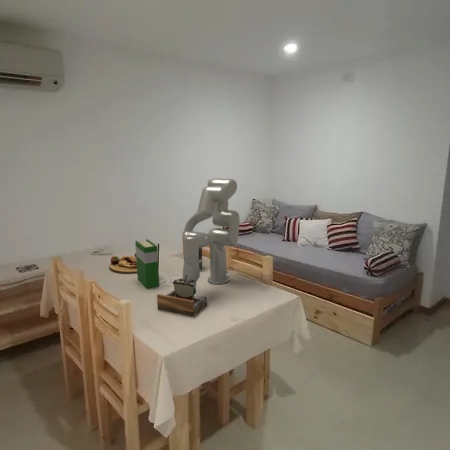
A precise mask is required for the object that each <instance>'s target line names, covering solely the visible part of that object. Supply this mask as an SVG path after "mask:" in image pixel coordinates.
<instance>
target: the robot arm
mask: <svg viewBox="0 0 450 450" xmlns="http://www.w3.org/2000/svg"><path fill="white" fill-rule="evenodd" d="M237 189H238V183H237V181H236V179H233V178H211V179H208V180H207V186H205V187H203V189H202V191H201V195H200V199H199V202H198V207H197V211H196V212H195V213H194V214H192V216H191V217H190V218H189V219H188V221H187V222H186V224H185V226H184V229H183V233H182V243H183V245H182V246H183V268H182V278H183V281H185V279H186V282H192V280H194V281H195V284H196V285H197V282H198V280H199V279H200V277H201V276H200V275H201V271H200V268H199V248H202V249H203V248H205V247H207V246H209V267H210V268H209V270H210V271H209V273H210V274H209V275H210V276H209V277H208V278H207V282H208V283H210V284H212V285H223V284H227V283H229V281H230V278H229V277H228V276H227V275H228V273H229V270H228V269H227V250H226V248H225V247H235V246H237V243H238V240H239V232H240V224H241V223H240V222H241V221H240V214H239V212H238V211H237V210H229V200H230V199H231V198H232V197H233V196H234V195H235V194H236V192H237ZM211 218H212V220H211V221H212V224H213V225H215V226H217V227H218V228H217V227H216V228H211V229H210V230H208V233H206V232H199V231H194V228H195V227H196V226H197V225H198V224H199V223H201V222H203V221H207V220H209V219H211ZM219 227H226V228H228V229H226V228H219ZM194 295H197V286H196V287H195V288H194Z"/></svg>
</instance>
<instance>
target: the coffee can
mask: <svg viewBox="0 0 450 450" xmlns="http://www.w3.org/2000/svg"><path fill="white" fill-rule="evenodd" d="M199 268H200V272H202V271H203V247H202V248H199Z"/></svg>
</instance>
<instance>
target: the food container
mask: <svg viewBox="0 0 450 450" xmlns="http://www.w3.org/2000/svg"><path fill="white" fill-rule="evenodd" d="M172 285H173V289H174V290H173V291H175V297H177V298H182V299H187V300H193V301H194V298H195V294H194V288H195V287H196V288H197V283H196V284H195V281H194V280H192V282H186V279H185V281H183V277H182V278H177V279H174V280H173V281H172Z"/></svg>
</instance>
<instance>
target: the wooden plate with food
mask: <svg viewBox="0 0 450 450" xmlns="http://www.w3.org/2000/svg"><path fill="white" fill-rule="evenodd" d="M109 270H110V271H112V272H113V273H117V274H121V275H130V274H131V275H133V274H137V260H136V252H135V253H134V255H133V256H132V255H131V256H130V255H129V256H127V255H125V256H124V255H123V257H122V256H121V257H118V256H117V255H113V256H111V258H110V264H109Z"/></svg>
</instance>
